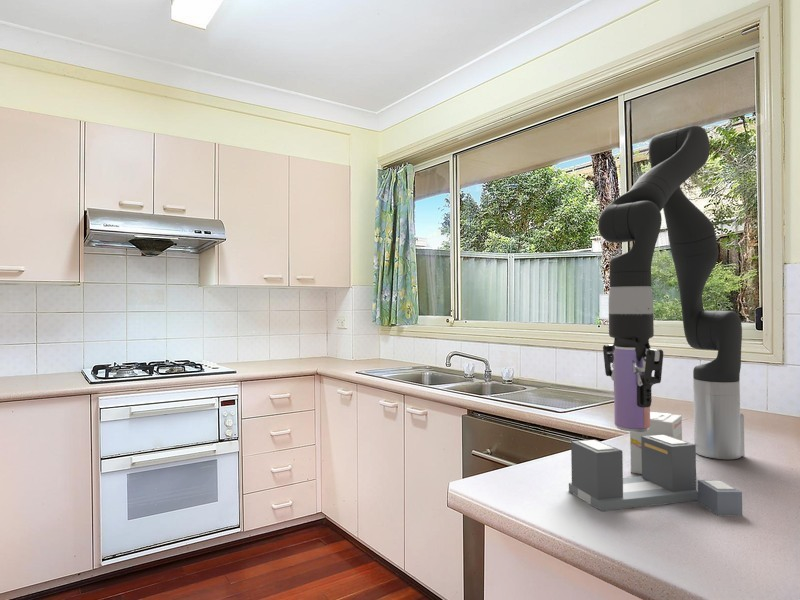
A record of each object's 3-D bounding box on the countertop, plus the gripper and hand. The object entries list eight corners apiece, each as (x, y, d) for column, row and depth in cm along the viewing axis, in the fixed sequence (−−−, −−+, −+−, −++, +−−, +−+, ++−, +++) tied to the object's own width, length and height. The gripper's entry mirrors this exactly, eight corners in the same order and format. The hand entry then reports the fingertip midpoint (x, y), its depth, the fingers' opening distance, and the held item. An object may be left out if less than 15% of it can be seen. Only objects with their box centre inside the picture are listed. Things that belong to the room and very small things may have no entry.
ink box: (641, 463, 116) (640, 409, 116) (683, 470, 111) (682, 414, 111) (629, 472, 109) (628, 416, 110) (674, 480, 104) (673, 421, 104)
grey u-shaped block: (660, 482, 103) (659, 432, 104) (700, 500, 94) (699, 445, 94) (568, 491, 99) (568, 438, 99) (601, 510, 89) (600, 453, 89)
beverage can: (629, 433, 93) (628, 348, 93) (607, 426, 98) (606, 345, 99) (657, 431, 94) (656, 347, 95) (634, 424, 100) (633, 344, 100)
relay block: (698, 502, 93) (697, 478, 93) (721, 502, 93) (720, 478, 93) (717, 516, 87) (717, 490, 87) (742, 516, 87) (742, 490, 87)
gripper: (677, 311, 91) (678, 410, 90) (623, 311, 105) (624, 396, 104) (639, 312, 89) (640, 412, 89) (589, 311, 103) (590, 398, 103)
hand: (631, 403), depth 97 cm, fingers closed on beverage can, 6 cm apart
